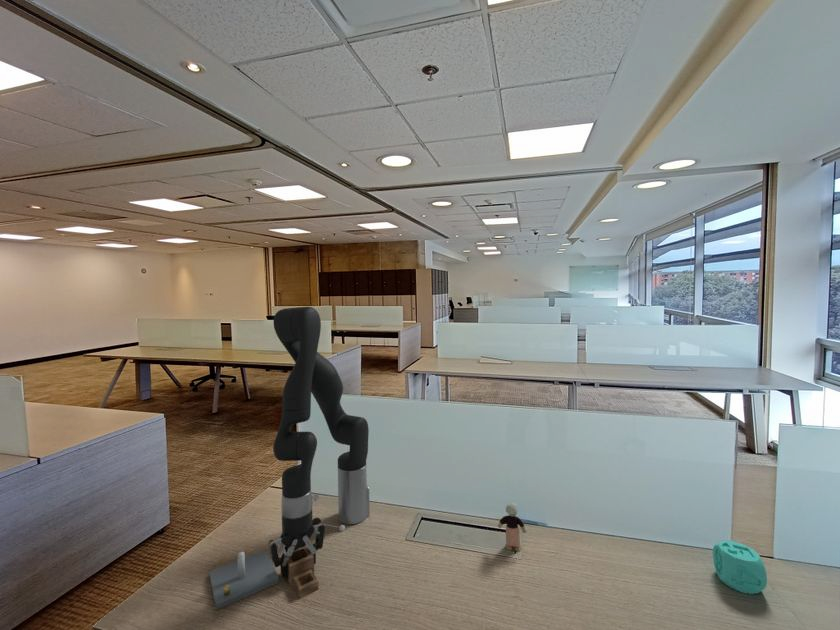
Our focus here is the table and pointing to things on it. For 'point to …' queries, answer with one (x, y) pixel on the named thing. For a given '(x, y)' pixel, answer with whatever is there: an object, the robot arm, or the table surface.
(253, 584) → the slate board
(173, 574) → the table surface
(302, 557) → the brown hollow open box
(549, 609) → the table surface
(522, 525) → the grandmother figurine
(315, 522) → the molecular model
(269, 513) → the table surface
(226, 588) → the brass dowel
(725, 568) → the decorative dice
